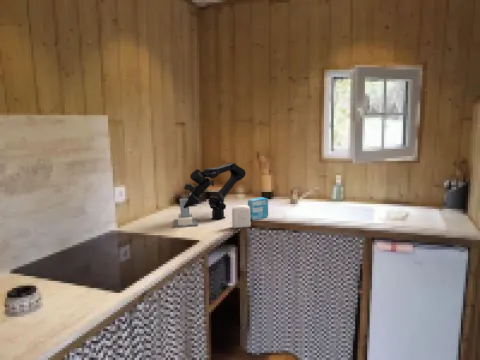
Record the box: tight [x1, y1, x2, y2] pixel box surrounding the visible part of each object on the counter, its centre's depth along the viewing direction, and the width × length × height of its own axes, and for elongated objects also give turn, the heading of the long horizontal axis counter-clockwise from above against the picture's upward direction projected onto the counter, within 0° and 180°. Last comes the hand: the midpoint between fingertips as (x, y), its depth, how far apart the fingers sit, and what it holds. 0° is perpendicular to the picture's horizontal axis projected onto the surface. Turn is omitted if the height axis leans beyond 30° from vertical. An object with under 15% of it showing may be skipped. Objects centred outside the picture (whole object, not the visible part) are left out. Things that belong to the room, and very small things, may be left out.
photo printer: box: [231, 204, 251, 229], centre depth 214 cm, size 10×4×12 cm, turn 101°
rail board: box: [172, 212, 199, 228], centre depth 225 cm, size 14×15×4 cm
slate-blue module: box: [179, 198, 191, 218], centre depth 224 cm, size 5×4×11 cm
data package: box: [247, 196, 269, 221], centre depth 231 cm, size 12×4×12 cm, turn 123°
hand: (184, 206), depth 224 cm, fingers closed on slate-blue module, 4 cm apart
